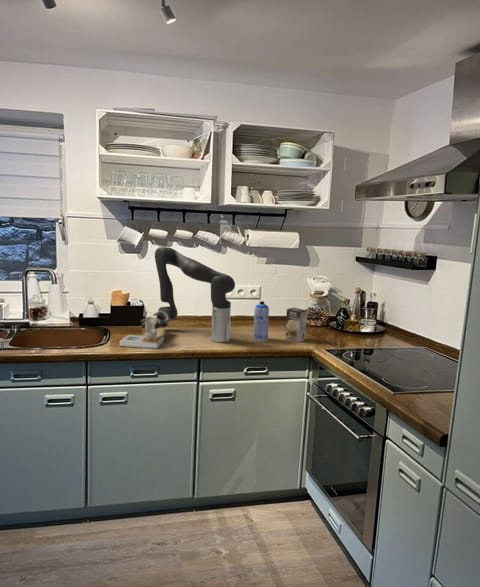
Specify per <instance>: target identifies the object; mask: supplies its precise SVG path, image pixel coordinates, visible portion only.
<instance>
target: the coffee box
mask: <svg viewBox="0 0 480 587" xmlns="http://www.w3.org/2000/svg"><path fill="white" fill-rule="evenodd" d="M307 316H308V310H306V309H302V308H297V307H290V308H286V319H285V335H284V336H285V337H284V339H285V340H290V341H294V342H297V343H298V342H303V341H305V340H306V330H307V329H306V328H307Z"/></svg>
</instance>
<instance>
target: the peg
mask: <svg viewBox="0 0 480 587" xmlns="http://www.w3.org/2000/svg"><path fill="white" fill-rule="evenodd" d="M144 319H145V328H144V332H145V333H144V336H145V340H148V341H156V340H157V337H158V328H157V329H155V324H157V316H156V315H153V314H147V315H146V316H144Z"/></svg>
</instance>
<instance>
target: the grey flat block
mask: <svg viewBox="0 0 480 587" xmlns="http://www.w3.org/2000/svg"><path fill="white" fill-rule="evenodd" d="M164 338H165V337H164V336H157V340H156V341H148V340H145V335H139V334H138V335H135V334H128V335H126V336H124V337H123V338H121V340H119V347H126V348H127V347H129V348H140V347H141V348H142V349H145V348H146V349H158V348H159V347H160V346H161V345H162V344H163V343H164ZM141 348H140V349H141Z"/></svg>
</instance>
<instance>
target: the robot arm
mask: <svg viewBox="0 0 480 587" xmlns="http://www.w3.org/2000/svg"><path fill="white" fill-rule="evenodd" d="M154 260H155V268H156V272H157V276H158V281H159V291H160V292H159V294H160V302H162V303H166V304H169V306H161V307H159V308H158V310H157V312H155V313H154V314H152V315H156V316H157V324H155V329H157V330H158V329H160V328H163V329H164V328H166V327H168V326H169V325H170V324H169V323H170V320H175V319H176V318H177V317H178V315H179V314H178V309H177V306H176V304H175V299H174V285H173V283H172V282H173V281H171V279H170V276H169V272H168V270H167V265H170V266H174V267H176V268H178V269H180V271H181V272H182V273H183V274H184V275H185V276H187V277H188V278H191V279H193V280H195V281H199V282H203V283H208V284H210V302H211V305H212V309H211V310H212V312H211V341H212V342H215V343H229V342H230V340H231V326H232V325H231V324H232V321H231V310H232V309H231V308H232V303H231V302H230V300H227V297H226V296H227V295H226V294H228V293H232V292H233V291H234V289H235V287H236V282H235V280H234V279H233V277H232V276H230V275H228V274H227V273H226V274H225V273H222V272H220V271H217V270H215V269H213V268H211V267H209V266H207V265H205V264H203V263H201V262H199V261H197V260H195V259H194V258H190V257H187V256H185V255H184V254H182V253H180V252H179V251H177V250H175V249H174V248H172V247H169V246H168V247H166V246H159V247H157V248H156V249H155V252H154ZM140 327H141V328H142V329H145V318H142V319H141V320H140Z"/></svg>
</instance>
